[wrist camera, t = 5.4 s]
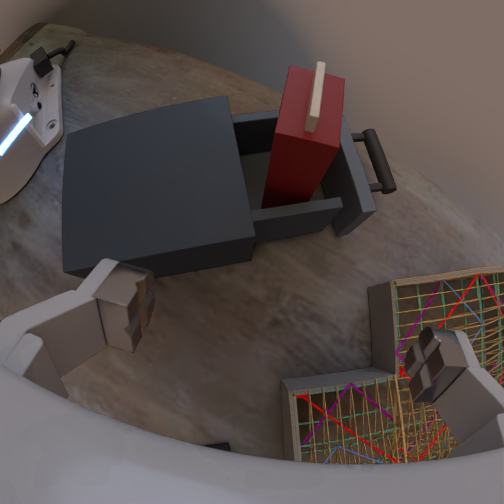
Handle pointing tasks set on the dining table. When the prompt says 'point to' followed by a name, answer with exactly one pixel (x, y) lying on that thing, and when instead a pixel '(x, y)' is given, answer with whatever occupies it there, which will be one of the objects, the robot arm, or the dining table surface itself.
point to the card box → (304, 136)
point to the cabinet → (157, 192)
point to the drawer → (334, 180)
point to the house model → (397, 370)
